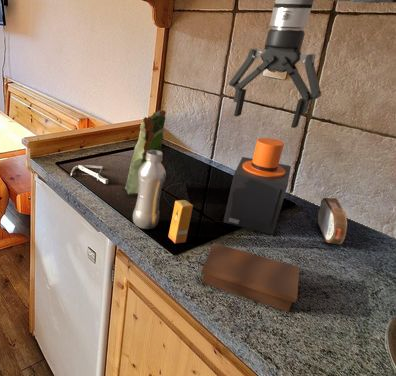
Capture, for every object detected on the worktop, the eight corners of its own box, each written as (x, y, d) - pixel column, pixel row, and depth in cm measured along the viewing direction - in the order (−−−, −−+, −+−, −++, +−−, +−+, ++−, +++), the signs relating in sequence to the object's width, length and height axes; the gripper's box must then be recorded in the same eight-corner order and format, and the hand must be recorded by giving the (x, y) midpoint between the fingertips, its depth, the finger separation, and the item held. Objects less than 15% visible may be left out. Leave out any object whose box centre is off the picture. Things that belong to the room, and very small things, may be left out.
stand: (294, 282, 84) (299, 267, 82) (291, 314, 75) (297, 297, 74) (210, 257, 92) (213, 242, 90) (199, 283, 83) (202, 267, 81)
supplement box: (187, 242, 97) (194, 205, 93) (174, 244, 96) (181, 207, 92) (180, 235, 100) (186, 199, 96) (167, 236, 99) (173, 200, 95)
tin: (341, 251, 95) (353, 220, 92) (326, 248, 96) (337, 217, 93) (326, 221, 108) (336, 193, 105) (312, 219, 109) (322, 191, 106)
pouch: (153, 184, 127) (164, 105, 116) (167, 201, 116) (181, 116, 106) (119, 185, 126) (127, 106, 115) (130, 203, 115) (139, 117, 104)
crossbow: (62, 173, 135) (62, 167, 135) (92, 166, 141) (92, 160, 141) (90, 188, 123) (90, 182, 122) (122, 180, 129) (122, 174, 128)
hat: (286, 167, 105) (294, 139, 102) (283, 180, 97) (292, 151, 94) (245, 159, 110) (251, 133, 106) (239, 171, 102) (246, 143, 98)
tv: (277, 212, 112) (291, 165, 106) (272, 236, 101) (287, 185, 95) (232, 201, 117) (242, 156, 112) (222, 222, 106) (233, 174, 100)
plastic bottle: (138, 216, 108) (147, 145, 99) (162, 224, 104) (173, 152, 96) (127, 226, 103) (135, 152, 95) (151, 235, 100) (162, 159, 91)
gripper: (226, 26, 96) (210, 113, 105) (347, 33, 81) (316, 135, 90) (238, 25, 101) (222, 108, 110) (355, 32, 86) (325, 128, 95)
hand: (264, 120), depth 100 cm, fingers open, 13 cm apart
